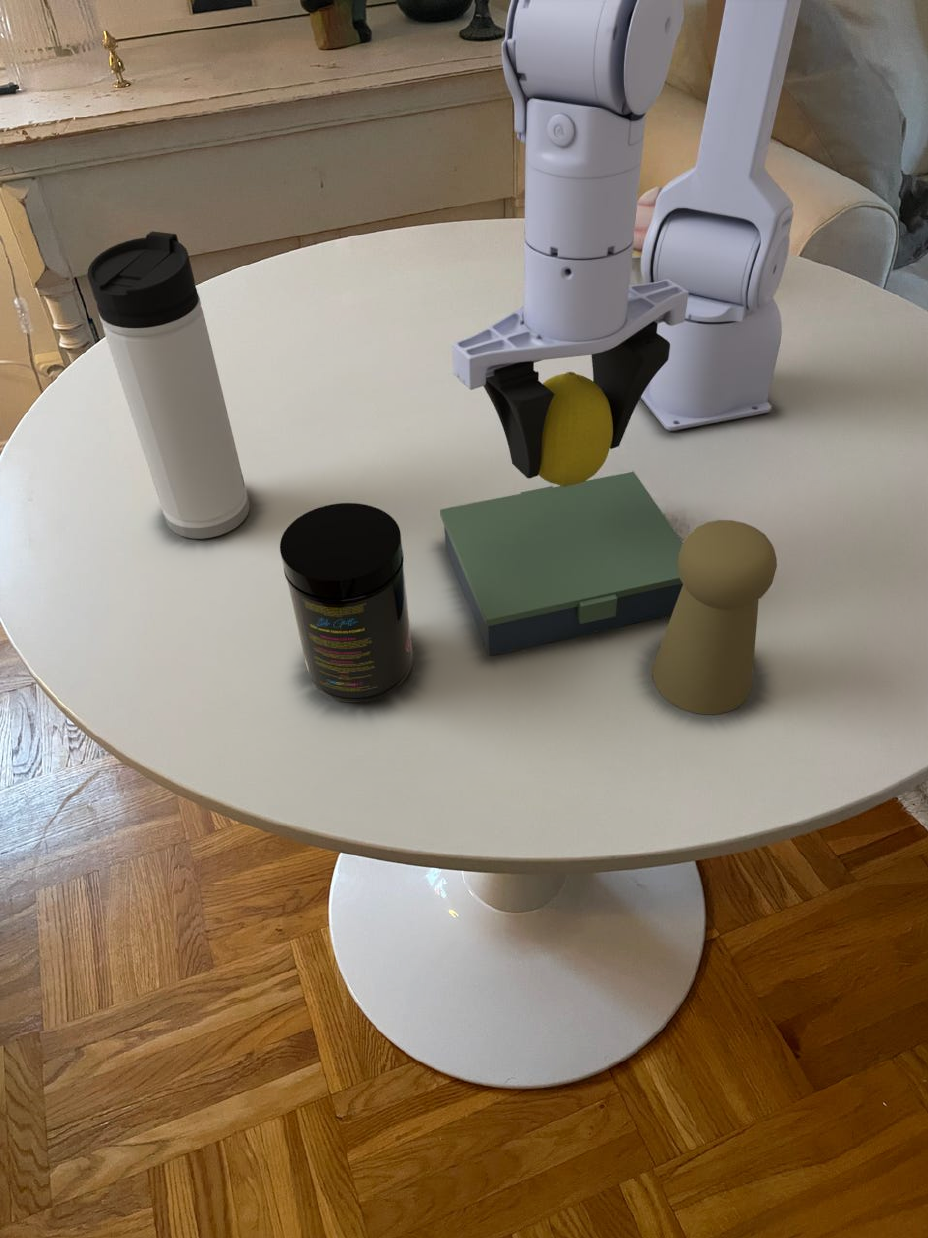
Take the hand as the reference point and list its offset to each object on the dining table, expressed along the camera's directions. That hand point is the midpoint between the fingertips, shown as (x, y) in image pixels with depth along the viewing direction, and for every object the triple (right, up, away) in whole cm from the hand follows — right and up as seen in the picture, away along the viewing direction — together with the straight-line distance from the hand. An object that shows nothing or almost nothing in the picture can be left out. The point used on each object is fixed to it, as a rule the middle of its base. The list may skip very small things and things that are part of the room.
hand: (566, 454), depth 58 cm
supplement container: (-13, -13, +1) cm, 19 cm away
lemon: (0, -2, +2) cm, 3 cm away
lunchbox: (0, -8, +6) cm, 9 cm away
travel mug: (-26, -2, +12) cm, 29 cm away
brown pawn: (+8, -14, -1) cm, 16 cm away
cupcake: (+12, +23, +37) cm, 45 cm away
